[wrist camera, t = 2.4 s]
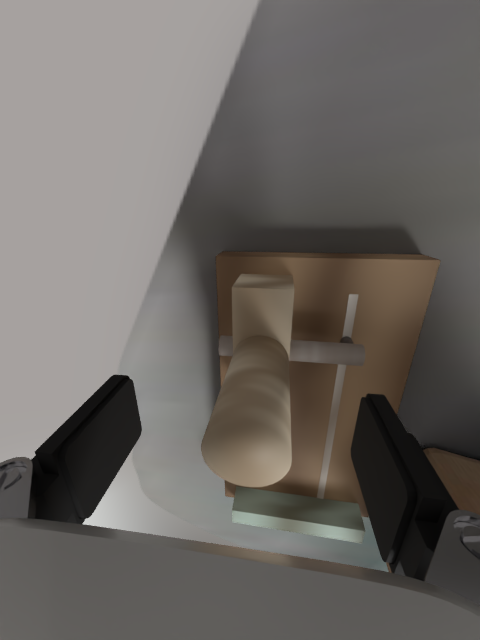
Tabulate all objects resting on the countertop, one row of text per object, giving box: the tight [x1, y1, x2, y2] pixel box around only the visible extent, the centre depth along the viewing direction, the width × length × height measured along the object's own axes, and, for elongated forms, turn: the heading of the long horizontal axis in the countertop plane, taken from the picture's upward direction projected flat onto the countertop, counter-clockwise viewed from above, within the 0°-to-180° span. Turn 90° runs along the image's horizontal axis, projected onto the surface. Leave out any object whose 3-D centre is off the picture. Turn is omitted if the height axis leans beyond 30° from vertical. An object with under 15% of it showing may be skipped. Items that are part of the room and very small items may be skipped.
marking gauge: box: [201, 274, 365, 487], centre depth 13 cm, size 8×8×9 cm
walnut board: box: [216, 251, 440, 543], centre depth 19 cm, size 12×21×4 cm, turn 1°
